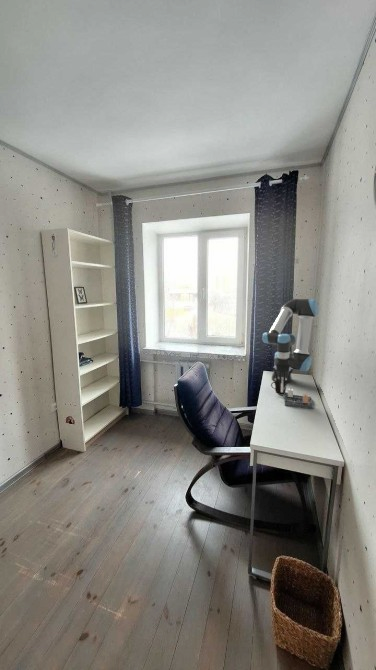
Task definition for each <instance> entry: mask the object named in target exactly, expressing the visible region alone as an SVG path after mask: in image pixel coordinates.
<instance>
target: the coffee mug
mask: <svg viewBox="0 0 376 670" xmlns="http://www.w3.org/2000/svg"><path fill="white" fill-rule="evenodd" d="M278 379H279V377H278ZM285 380H287V379H286V378H285ZM281 382H283V377H281ZM273 384H274V387H273ZM270 386H271V387H272V389H274V390H275V393H276V394H278V395H286V389H287V386H288V383H287V382H286V383H285V387H283V392H281V387H279V382H277V381H276V378H275V381H273V382H271V384H270Z"/></svg>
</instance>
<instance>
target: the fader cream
mask: <svg viewBox="0 0 376 670" xmlns="http://www.w3.org/2000/svg"><path fill="white" fill-rule="evenodd" d="M287 394H288V397H293V395H294V389H293V388H287Z"/></svg>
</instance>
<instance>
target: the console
mask: <svg viewBox="0 0 376 670" xmlns="http://www.w3.org/2000/svg"><path fill="white" fill-rule="evenodd" d="M284 396H285V397H284V406H286V407H294V408H303V409H311V410H313V401H312V396H308V403H303V395H296V394H293V397H288V393H285V394H284Z"/></svg>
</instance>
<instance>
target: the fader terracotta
mask: <svg viewBox="0 0 376 670" xmlns="http://www.w3.org/2000/svg"><path fill="white" fill-rule="evenodd" d="M302 396H303V403H308V397H309V394H307V393H302Z"/></svg>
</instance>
